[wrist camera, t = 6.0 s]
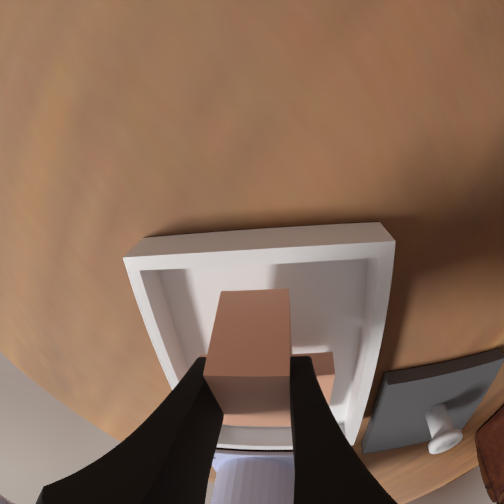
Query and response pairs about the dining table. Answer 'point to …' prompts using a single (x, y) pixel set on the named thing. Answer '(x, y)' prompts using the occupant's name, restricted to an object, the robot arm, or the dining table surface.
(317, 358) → the ring
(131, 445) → the robot arm
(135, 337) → the dining table surface
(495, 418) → the wooden figurine
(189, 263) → the tray
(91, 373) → the dining table surface
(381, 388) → the grey plate with knob
